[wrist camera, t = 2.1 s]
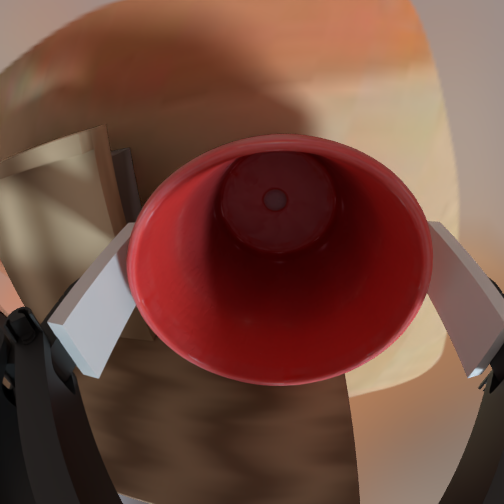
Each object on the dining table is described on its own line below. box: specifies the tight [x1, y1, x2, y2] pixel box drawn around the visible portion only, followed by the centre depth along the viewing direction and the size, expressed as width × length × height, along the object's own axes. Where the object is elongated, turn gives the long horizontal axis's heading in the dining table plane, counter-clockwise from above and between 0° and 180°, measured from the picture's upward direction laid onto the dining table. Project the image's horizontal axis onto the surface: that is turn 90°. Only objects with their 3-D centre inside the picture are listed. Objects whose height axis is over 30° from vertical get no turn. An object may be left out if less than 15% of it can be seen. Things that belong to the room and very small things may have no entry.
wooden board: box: [3, 323, 360, 504], centre depth 16 cm, size 26×2×16 cm, turn 93°
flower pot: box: [126, 134, 433, 386], centre depth 13 cm, size 11×11×10 cm
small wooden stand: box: [0, 125, 156, 341], centre depth 17 cm, size 13×14×6 cm
